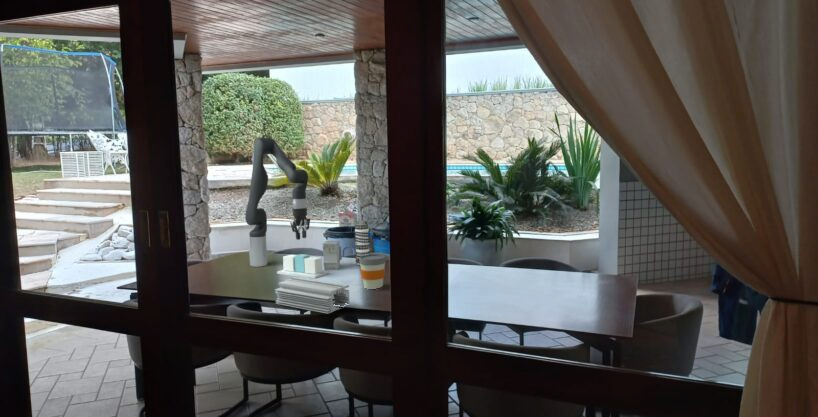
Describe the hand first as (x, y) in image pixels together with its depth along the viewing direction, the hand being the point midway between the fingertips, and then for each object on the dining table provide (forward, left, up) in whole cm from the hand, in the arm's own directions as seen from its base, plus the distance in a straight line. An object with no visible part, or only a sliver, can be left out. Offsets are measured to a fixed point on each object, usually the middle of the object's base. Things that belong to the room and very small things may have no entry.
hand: (301, 238), depth 302 cm
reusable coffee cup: (+51, -8, -19) cm, 55 cm away
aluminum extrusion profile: (+42, -43, -20) cm, 63 cm away
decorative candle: (+16, +34, -19) cm, 42 cm away
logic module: (0, 0, -18) cm, 18 cm away
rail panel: (0, 0, -19) cm, 19 cm away
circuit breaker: (+6, +19, -19) cm, 28 cm away
